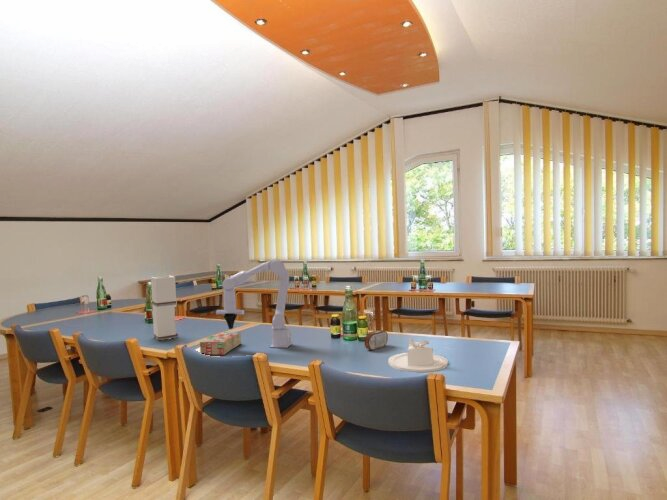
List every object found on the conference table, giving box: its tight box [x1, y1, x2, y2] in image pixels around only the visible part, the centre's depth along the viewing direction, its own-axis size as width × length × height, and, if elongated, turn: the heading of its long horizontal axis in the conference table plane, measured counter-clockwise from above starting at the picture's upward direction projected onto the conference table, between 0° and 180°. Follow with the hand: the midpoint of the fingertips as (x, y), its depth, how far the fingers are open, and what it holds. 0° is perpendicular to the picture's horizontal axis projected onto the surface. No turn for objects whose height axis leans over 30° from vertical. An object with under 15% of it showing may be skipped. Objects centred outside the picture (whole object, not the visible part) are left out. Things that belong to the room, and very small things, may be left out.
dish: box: [388, 338, 449, 373], centre depth 182 cm, size 25×25×11 cm
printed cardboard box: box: [199, 331, 242, 356], centre depth 215 cm, size 21×6×12 cm
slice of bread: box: [364, 329, 389, 351], centre depth 207 cm, size 15×3×8 cm, turn 134°
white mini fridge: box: [150, 275, 179, 341], centre depth 245 cm, size 11×11×35 cm
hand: (231, 328), depth 215 cm, fingers closed
